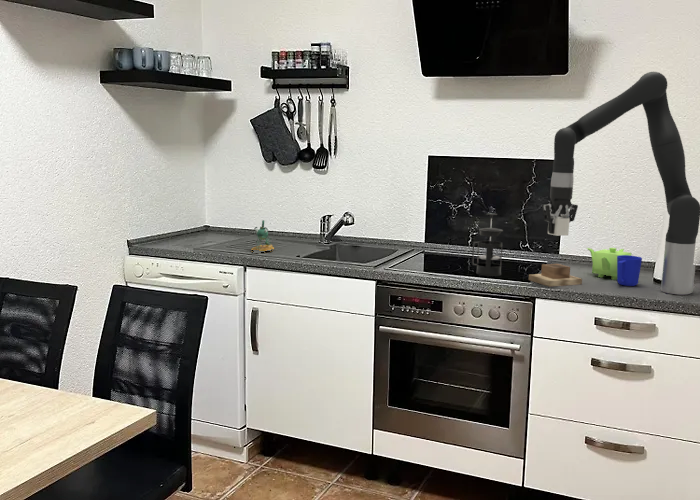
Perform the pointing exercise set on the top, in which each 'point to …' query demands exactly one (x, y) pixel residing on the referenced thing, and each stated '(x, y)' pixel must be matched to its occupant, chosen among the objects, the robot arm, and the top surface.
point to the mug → (628, 270)
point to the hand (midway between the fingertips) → (558, 233)
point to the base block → (555, 271)
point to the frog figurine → (263, 235)
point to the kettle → (606, 262)
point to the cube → (561, 226)
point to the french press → (488, 251)
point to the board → (554, 280)
